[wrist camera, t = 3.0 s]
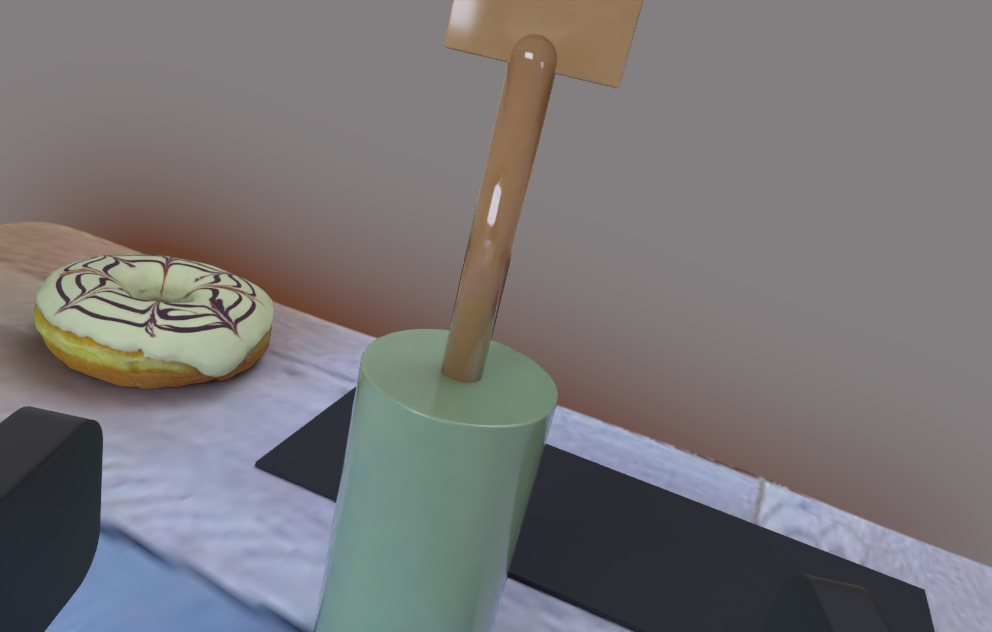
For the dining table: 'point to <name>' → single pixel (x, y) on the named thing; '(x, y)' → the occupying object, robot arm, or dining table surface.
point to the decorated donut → (153, 320)
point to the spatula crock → (462, 368)
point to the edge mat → (631, 544)
